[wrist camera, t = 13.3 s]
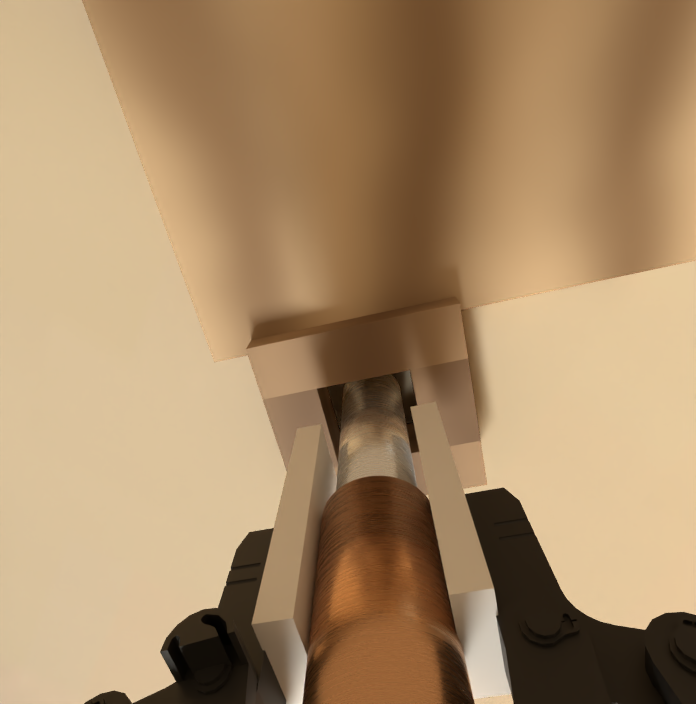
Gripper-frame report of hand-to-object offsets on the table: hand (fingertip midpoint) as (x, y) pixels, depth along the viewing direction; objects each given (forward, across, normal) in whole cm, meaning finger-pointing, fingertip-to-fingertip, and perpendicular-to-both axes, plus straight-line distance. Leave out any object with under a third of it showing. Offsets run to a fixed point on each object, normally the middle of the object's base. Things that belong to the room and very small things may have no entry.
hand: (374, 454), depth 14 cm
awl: (+4, 0, 0) cm, 4 cm away
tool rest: (+4, 0, 0) cm, 4 cm away
